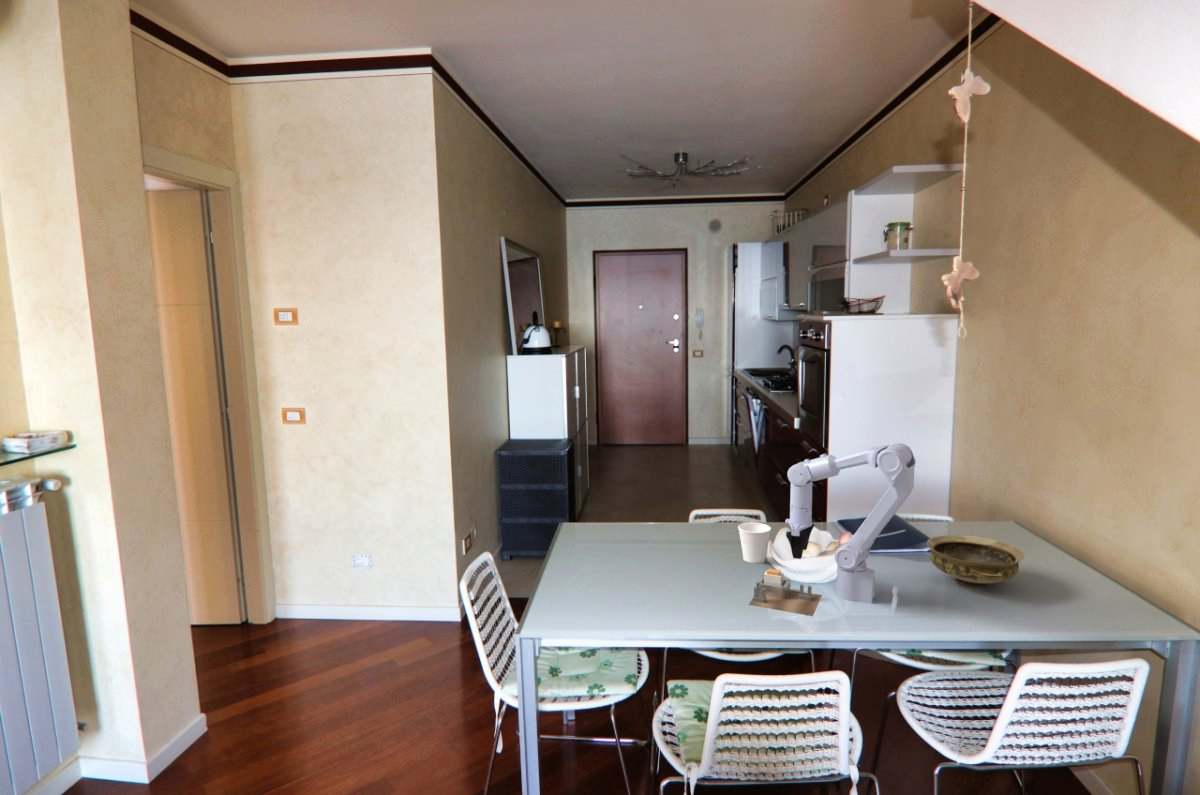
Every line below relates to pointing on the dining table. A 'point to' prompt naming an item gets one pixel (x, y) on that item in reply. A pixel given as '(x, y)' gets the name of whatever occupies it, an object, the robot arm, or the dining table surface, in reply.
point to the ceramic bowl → (974, 559)
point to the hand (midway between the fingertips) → (799, 553)
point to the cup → (754, 541)
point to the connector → (773, 577)
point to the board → (791, 603)
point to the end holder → (774, 588)
